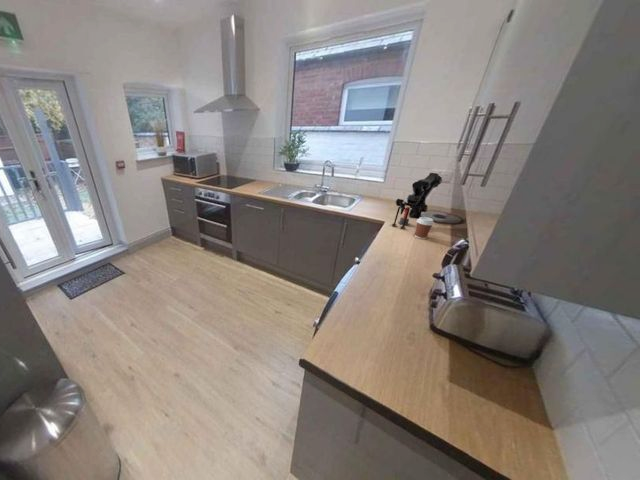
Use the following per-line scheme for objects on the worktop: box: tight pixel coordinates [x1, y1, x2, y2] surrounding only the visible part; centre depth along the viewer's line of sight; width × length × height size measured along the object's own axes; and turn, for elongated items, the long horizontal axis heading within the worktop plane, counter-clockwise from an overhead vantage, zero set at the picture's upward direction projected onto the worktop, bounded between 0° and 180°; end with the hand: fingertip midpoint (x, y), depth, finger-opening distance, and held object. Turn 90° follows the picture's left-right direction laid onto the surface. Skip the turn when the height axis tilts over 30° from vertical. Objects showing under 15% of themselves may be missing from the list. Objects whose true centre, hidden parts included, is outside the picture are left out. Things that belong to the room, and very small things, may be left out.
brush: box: [398, 206, 411, 226], centre depth 174 cm, size 6×5×12 cm
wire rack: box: [391, 206, 410, 230], centre depth 170 cm, size 2×8×14 cm, turn 39°
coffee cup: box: [413, 216, 435, 240], centre depth 157 cm, size 9×9×12 cm
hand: (405, 215), depth 174 cm, fingers open, 5 cm apart
